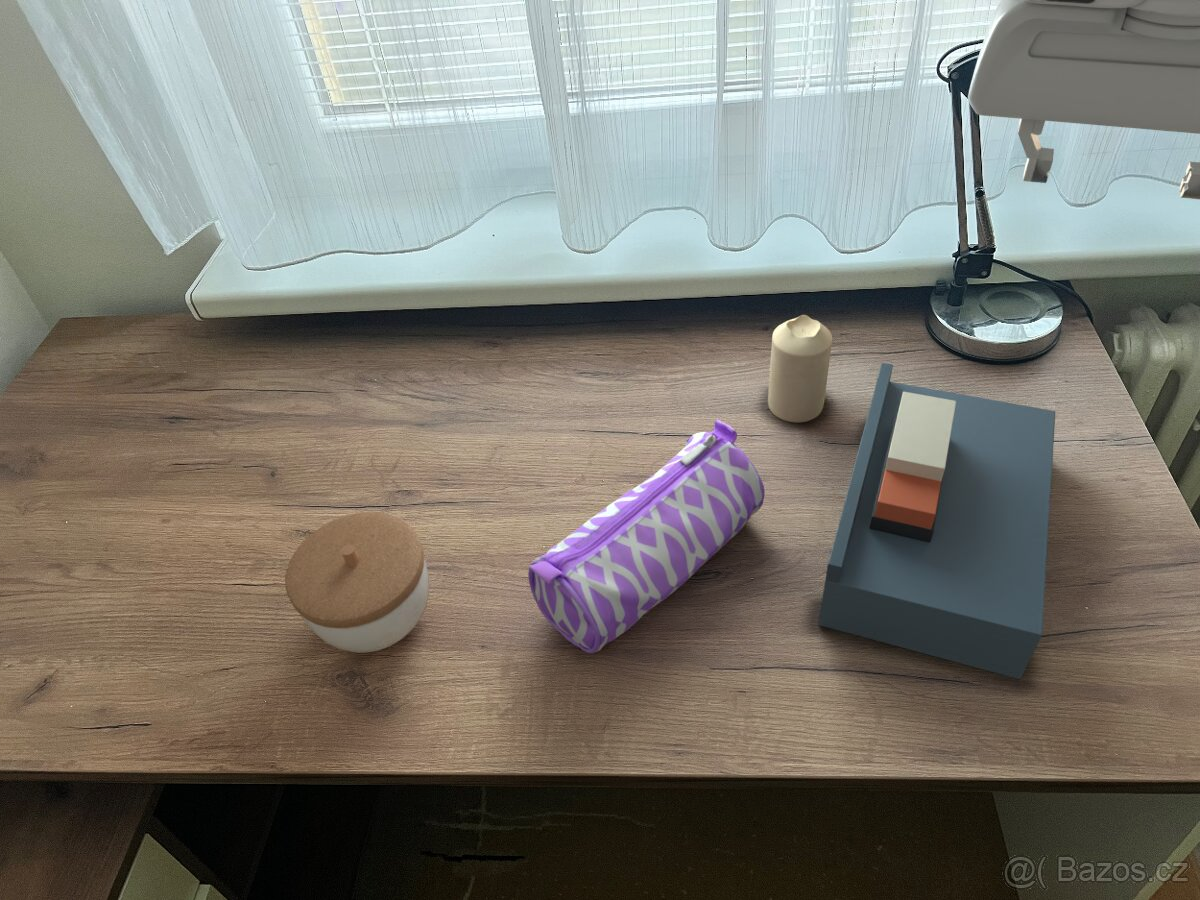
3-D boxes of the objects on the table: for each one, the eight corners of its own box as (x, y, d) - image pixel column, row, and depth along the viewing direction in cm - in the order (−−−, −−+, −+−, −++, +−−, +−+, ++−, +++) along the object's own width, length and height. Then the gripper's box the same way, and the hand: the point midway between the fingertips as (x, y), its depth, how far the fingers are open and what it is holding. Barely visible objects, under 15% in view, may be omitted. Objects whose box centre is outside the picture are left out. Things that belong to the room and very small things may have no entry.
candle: (764, 420, 87) (770, 340, 80) (770, 384, 90) (776, 304, 83) (821, 425, 85) (832, 345, 78) (825, 388, 89) (835, 309, 82)
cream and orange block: (892, 427, 76) (901, 386, 73) (948, 438, 75) (959, 397, 71) (869, 528, 69) (877, 488, 65) (930, 543, 67) (942, 502, 64)
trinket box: (468, 599, 74) (445, 529, 68) (382, 698, 68) (347, 631, 62) (377, 550, 79) (347, 480, 72) (288, 639, 73) (247, 571, 66)
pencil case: (693, 470, 83) (693, 395, 76) (774, 518, 78) (781, 442, 71) (524, 621, 72) (505, 550, 66) (605, 687, 67) (594, 617, 61)
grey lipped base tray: (1037, 458, 80) (1062, 393, 75) (1020, 680, 65) (1050, 619, 59) (869, 426, 85) (881, 362, 79) (817, 625, 70) (828, 564, 64)
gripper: (1412, -57, 47) (1289, 181, 57) (1003, -66, 53) (956, 149, 63) (1440, -16, 43) (1302, 231, 53) (995, -32, 49) (946, 192, 59)
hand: (1111, 186), depth 58 cm, fingers open, 8 cm apart
